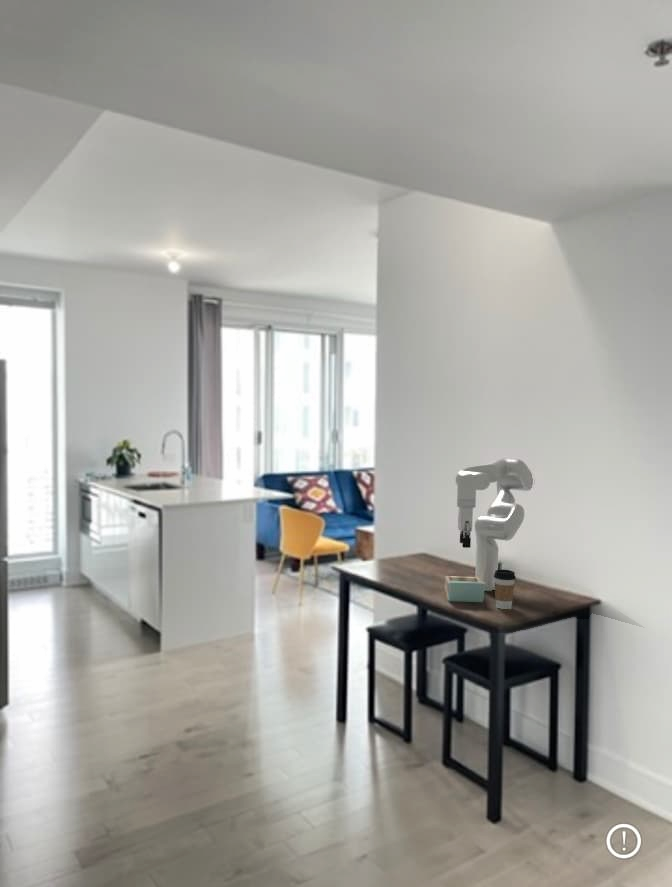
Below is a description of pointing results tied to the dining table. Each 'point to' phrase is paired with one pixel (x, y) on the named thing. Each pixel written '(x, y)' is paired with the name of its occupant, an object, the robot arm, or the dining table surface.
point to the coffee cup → (504, 588)
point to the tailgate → (466, 591)
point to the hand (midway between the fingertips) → (465, 545)
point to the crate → (453, 578)
